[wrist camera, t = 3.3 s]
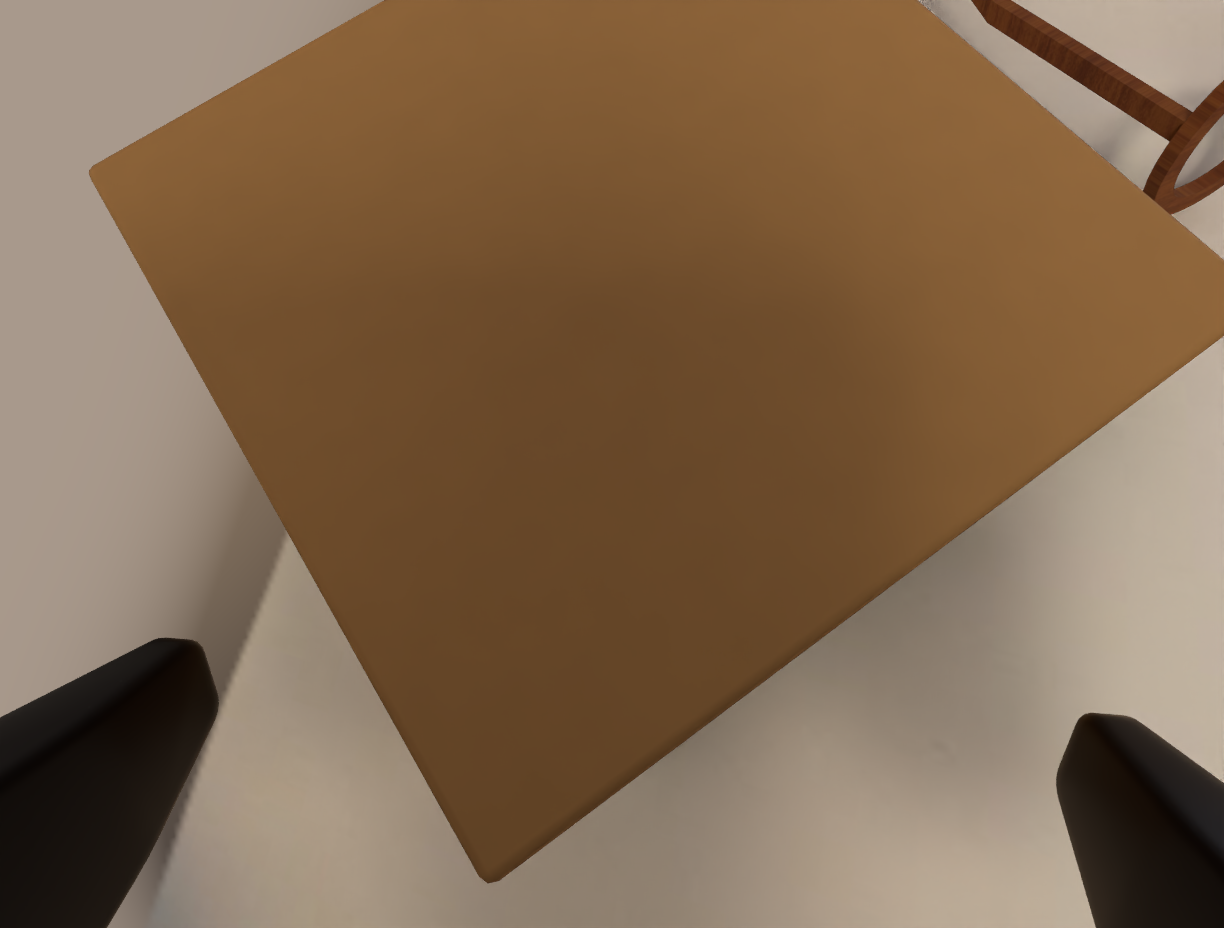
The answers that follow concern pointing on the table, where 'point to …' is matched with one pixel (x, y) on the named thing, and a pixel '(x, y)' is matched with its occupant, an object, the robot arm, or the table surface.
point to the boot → (638, 347)
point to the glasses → (1123, 100)
